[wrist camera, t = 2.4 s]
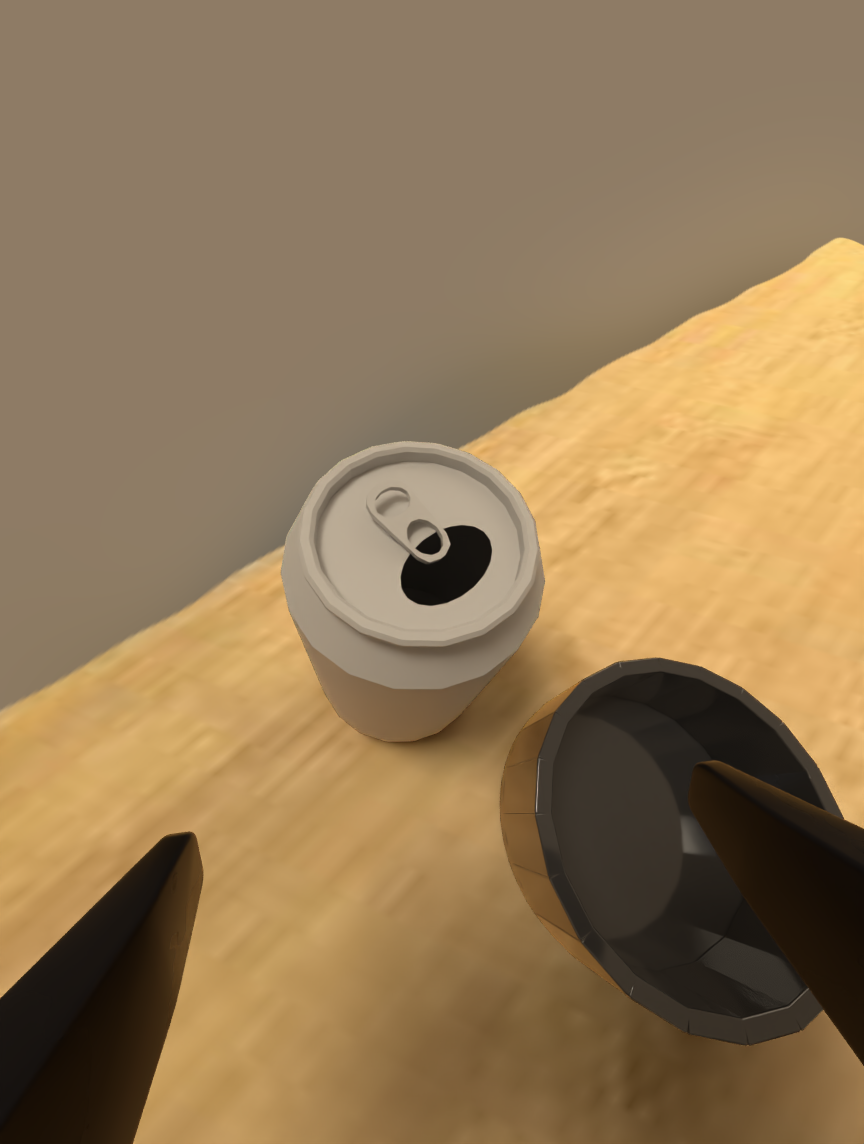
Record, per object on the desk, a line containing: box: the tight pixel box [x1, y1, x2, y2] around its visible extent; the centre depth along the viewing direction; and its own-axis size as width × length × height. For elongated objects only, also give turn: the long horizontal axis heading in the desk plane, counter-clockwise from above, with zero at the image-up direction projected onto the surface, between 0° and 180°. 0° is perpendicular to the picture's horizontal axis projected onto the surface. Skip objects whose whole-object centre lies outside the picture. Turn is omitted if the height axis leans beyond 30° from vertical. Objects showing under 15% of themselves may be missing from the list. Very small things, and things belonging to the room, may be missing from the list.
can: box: [281, 441, 545, 742], centre depth 16 cm, size 8×8×12 cm
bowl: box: [500, 657, 844, 1046], centre depth 17 cm, size 11×11×5 cm
